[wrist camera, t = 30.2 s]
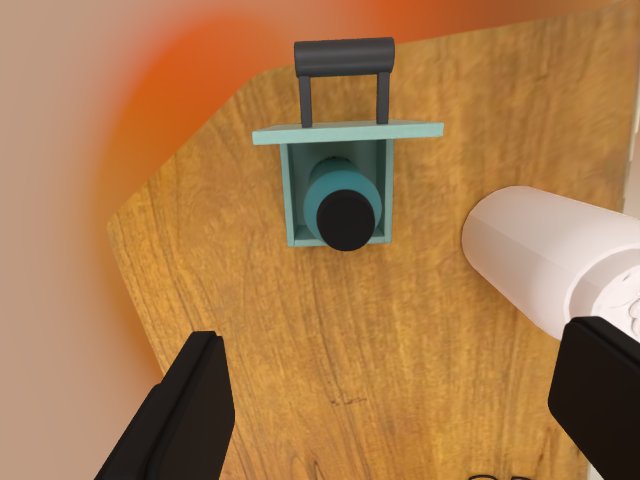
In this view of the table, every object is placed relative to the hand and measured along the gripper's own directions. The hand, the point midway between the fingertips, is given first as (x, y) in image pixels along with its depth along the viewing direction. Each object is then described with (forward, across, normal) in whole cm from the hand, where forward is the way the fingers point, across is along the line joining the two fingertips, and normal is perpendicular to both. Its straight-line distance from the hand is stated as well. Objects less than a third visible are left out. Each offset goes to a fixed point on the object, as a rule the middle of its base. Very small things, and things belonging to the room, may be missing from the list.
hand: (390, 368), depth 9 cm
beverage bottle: (+34, 0, 0) cm, 34 cm away
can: (+34, -22, +8) cm, 42 cm away
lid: (+20, 0, -6) cm, 21 cm away
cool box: (+34, 0, 0) cm, 34 cm away
